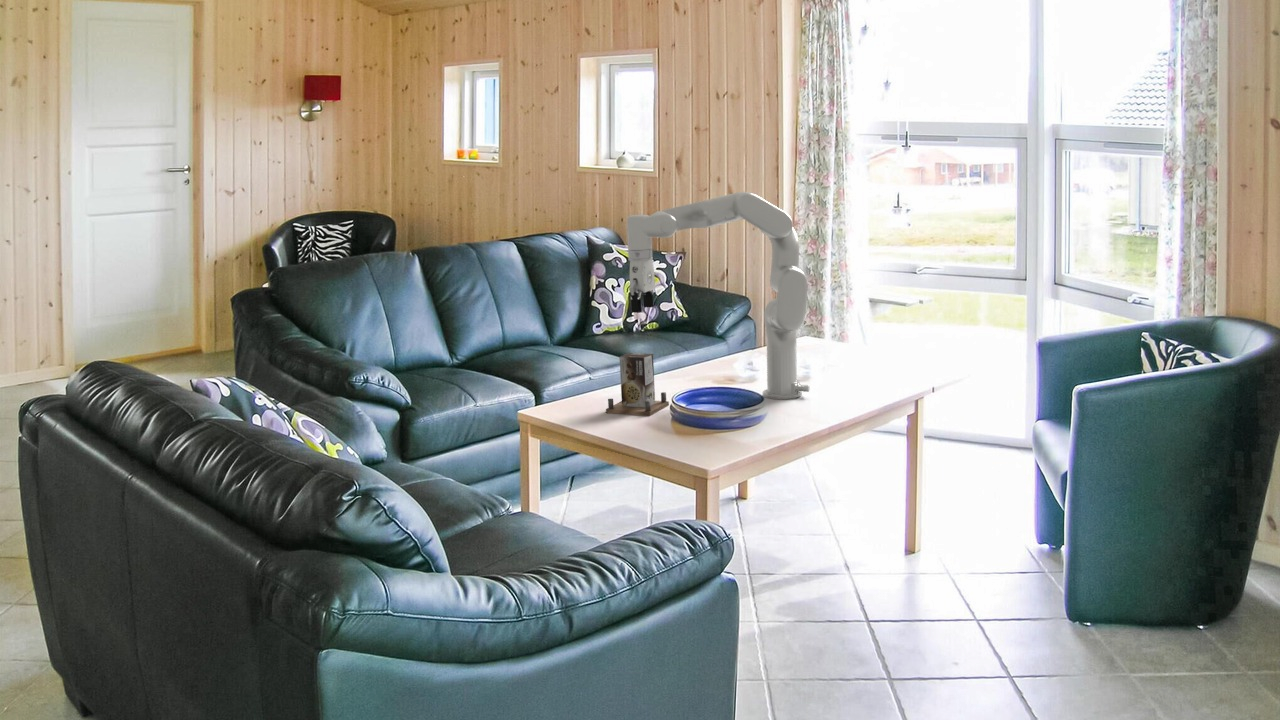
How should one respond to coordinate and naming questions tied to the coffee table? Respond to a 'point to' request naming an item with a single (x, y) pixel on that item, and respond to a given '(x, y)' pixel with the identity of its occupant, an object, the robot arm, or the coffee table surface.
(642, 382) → the coffee box
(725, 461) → the coffee table surface
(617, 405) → the stub cradle
